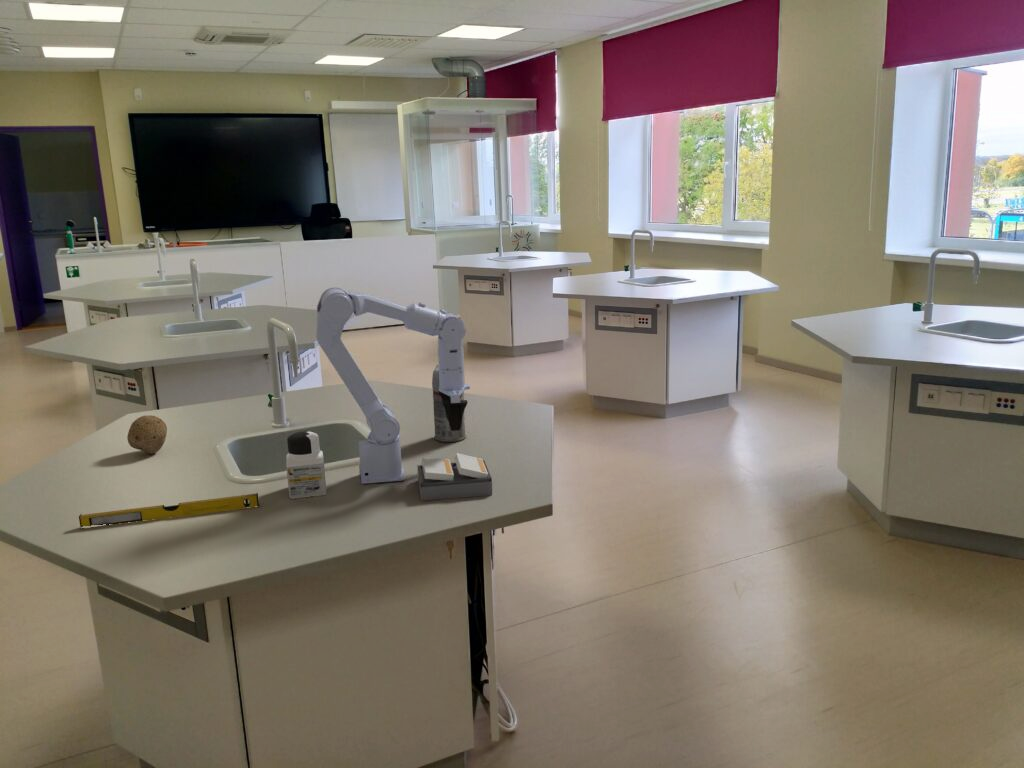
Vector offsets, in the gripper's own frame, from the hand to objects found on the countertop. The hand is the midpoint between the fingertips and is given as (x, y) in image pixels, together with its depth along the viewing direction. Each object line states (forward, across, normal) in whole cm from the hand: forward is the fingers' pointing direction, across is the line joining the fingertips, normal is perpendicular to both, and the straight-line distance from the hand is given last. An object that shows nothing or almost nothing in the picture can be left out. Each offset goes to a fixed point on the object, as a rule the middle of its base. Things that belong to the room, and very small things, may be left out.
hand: (453, 425), depth 182 cm
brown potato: (+11, +27, +74) cm, 79 cm away
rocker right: (+6, -12, -2) cm, 14 cm away
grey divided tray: (+10, -12, +2) cm, 16 cm away
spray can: (+11, +22, -1) cm, 24 cm away
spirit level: (+11, -15, +59) cm, 62 cm away
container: (+11, -7, +33) cm, 35 cm away
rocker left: (+6, -12, +5) cm, 15 cm away
